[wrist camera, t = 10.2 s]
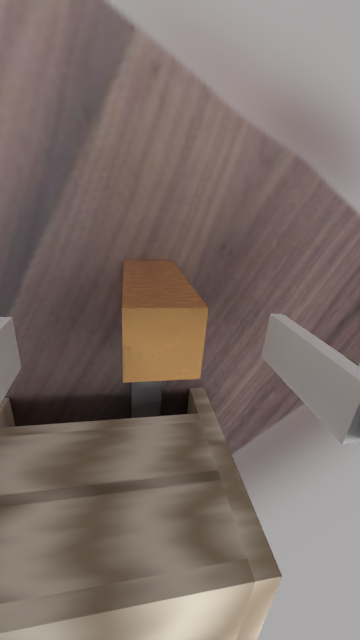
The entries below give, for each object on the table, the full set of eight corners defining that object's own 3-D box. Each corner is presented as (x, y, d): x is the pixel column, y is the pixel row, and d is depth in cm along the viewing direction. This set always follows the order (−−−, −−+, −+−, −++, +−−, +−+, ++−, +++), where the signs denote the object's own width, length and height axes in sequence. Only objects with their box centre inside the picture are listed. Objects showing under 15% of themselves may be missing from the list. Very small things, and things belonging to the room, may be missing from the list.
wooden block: (125, 429, 29) (125, 547, 19) (123, 259, 22) (121, 308, 12) (163, 426, 30) (181, 538, 20) (172, 260, 23) (208, 308, 13)
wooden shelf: (6, 461, 28) (-121, 740, 14) (-10, 398, 25) (-196, 673, 10) (196, 443, 32) (254, 645, 17) (203, 386, 29) (282, 576, 14)
